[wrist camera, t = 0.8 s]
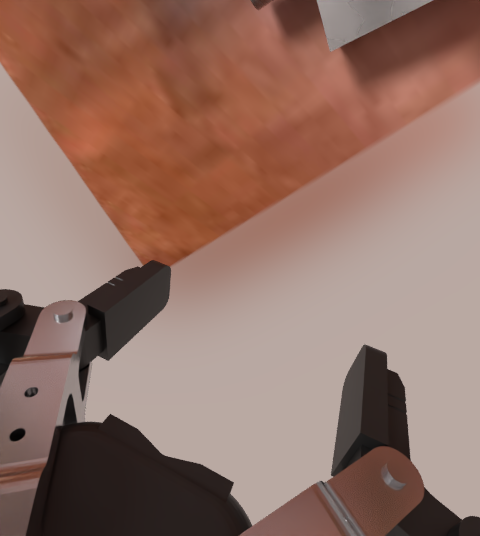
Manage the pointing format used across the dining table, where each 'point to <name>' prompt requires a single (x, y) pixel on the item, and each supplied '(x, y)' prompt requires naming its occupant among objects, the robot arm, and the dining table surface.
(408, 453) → the robot arm
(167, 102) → the dining table surface
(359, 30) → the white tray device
